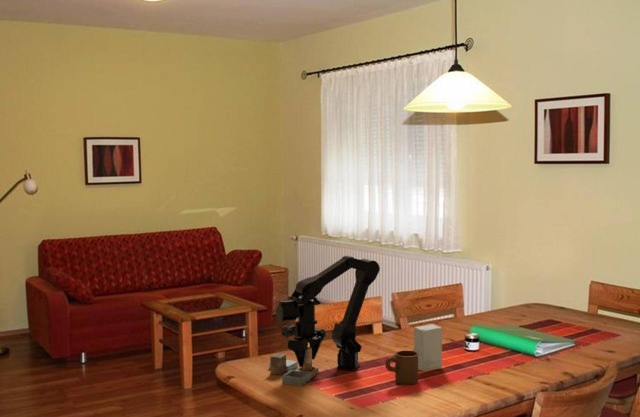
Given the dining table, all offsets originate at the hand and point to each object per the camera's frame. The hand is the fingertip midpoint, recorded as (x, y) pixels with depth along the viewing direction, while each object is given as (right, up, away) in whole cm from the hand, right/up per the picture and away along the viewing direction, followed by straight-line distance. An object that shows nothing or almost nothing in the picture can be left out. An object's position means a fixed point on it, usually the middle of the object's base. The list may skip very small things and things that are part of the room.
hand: (307, 363), depth 235 cm
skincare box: (+42, -3, +6) cm, 43 cm away
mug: (+31, -5, -8) cm, 33 cm away
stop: (-10, -4, +3) cm, 11 cm away
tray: (-3, -5, -7) cm, 9 cm away
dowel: (0, -4, 0) cm, 4 cm away
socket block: (0, -4, 0) cm, 4 cm away
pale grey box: (-9, -4, +8) cm, 12 cm away
